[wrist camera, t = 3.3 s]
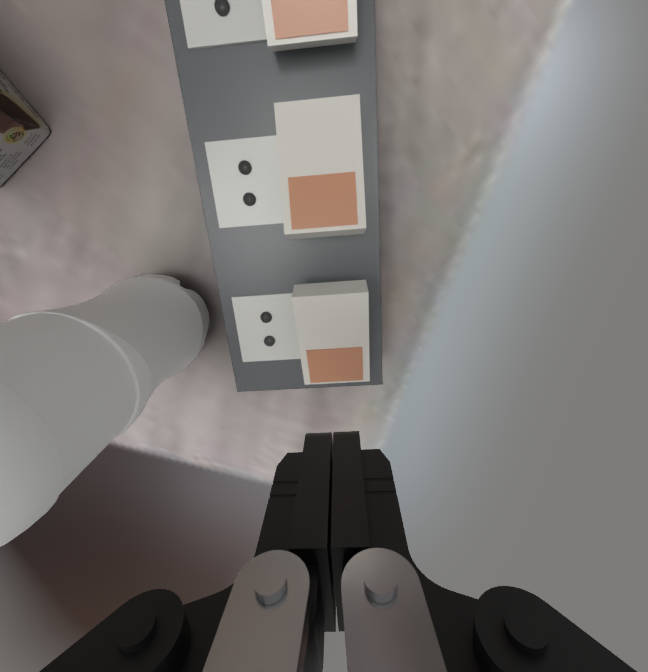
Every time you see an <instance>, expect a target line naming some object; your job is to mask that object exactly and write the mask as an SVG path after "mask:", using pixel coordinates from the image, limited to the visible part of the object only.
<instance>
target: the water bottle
mask: <svg viewBox="0 0 648 672" xmlns="http://www.w3.org/2000/svg"><path fill="white" fill-rule="evenodd" d="M209 320H210V318H209V313H208V310H207V307H206V304H205V303H204V301H203V299H202V297H201V296H200V295H198V294H197V293H196V292H195V291H193V290H190V289H185V288H183V287H181V286H180V281H178V280H177V279H175V278H174V277H170V276H166V275H157V274H148V275H140V276H136V277H133V278H129V279H126V280H123V281H120V282H118V283H116V284H114V285H112V286H110V287H109V288H108V289H107V290H105V291H104V292H103V293H102V294H101V295H99V296H97V297H95V298H94V299H91V300H89V301H87V302H83V303H80V304H77V305H73V306H68V307H64V308H59V309H52V310H46V311H36V312H28V313H23V314H19V315H16V316H14V317H12V318H10V319H9V320H7V321H6V322H3V323H0V547H1V546H3V545H4V544H6V543H8V542H9V541H11V540H12V539H14V538H15V537H16V536H18V535H19V534H21V533H22V532H23V531H25V530H26V529H28V528H29V527H30V526H31V525H32V524H33V523H35V522H36V521H37V520H38V519H39V518H40V517H42V515H44V514H45V513H46V512H47V511H48V510H49V509H50V508H51V507H52V505H53V504H54V503H55V502H56V500H57V498H58V496H59V494H60V493H61V492H62V491H63V490H64V489H65V488H66V487H67V486H68V484H70V483H71V482H72V480H74V479H75V477H76V476H78V475H79V473H80V472H81V471H82V470H83V469H84V468H85V467H86V466H87V465H88V464H89V463H90V462H91V461H92V460H93V459H94V458H95V457H96V456H97V455H98V454H99V453H100V452H101V451H102V450H103V449H104V448H105V447H106V446H107V445H108V444H109V443H110V442H111V441H112V440H113V439H114V438H115V437H117V436H119V435H120V434H122V433H123V432H124V431H125V430H126V429H128V428H129V426H130V425H131V424H132V423H133V422H134V421H135V420H136V419H137V418H138V416H139V415H140V414H141V412H142V411H143V409H144V407H145V405H146V403H147V401H148V399H149V397H150V396H151V394H152V392H153V391H154V389H155V388H156V387H157V386H158V385H159V384H160V383H161V382H162V381H164V380H165V379H167V378H169V377H170V376H172V375H175V374H177V373H179V372H181V371H182V370H184V369H185V368H186V367H187V366H188V365H189V364H190V363H191V362H192V361H193V360H194V359H195V358H196V357H197V356H198V354H199V353H200V352H201V350H202V349H203V347H204V343H205V338H206V334H207V331H208V327H209Z"/></svg>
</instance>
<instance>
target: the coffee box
mask: <svg viewBox="0 0 648 672" xmlns="http://www.w3.org/2000/svg"><path fill="white" fill-rule="evenodd" d="M49 134H50V131H49V128H48V127H47V125H46V124H45V123H44V122H43V120H42V119H41V118H40V117H39V116H38V115H37V113H36V112H35V111H34V110H33V109H32V108H31V106H30V105H29V104H28V103H27V102H26V101H25V99H24V98H23V97H22V96H21V95H20V94H19V92H18V91H17V90H16V89H15V88H14V87H13V85H12V84H11V83H10V82H9V81H8V80H7V78H6V77H5V76H4V75H3V74H2V72H1V71H0V186H1V185H2V184H3V183H4V182H5V181H6V180H7V179H8V178H9V177H10V176H11V175H12V174H13V173H14V172H15V171H16V169H17V168H18V167H19V166H20V165H21V164H22V163H23V162H24V161H25V160H26V159H27V158H28V157H29V156H30V155H31V154H32V153H33V152H34V151H35V150H36V148H37V147H38V146H39V145H40V144H41V143H42V142H43V141H44V140H45V139H46V138H47V136H48V135H49Z"/></svg>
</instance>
